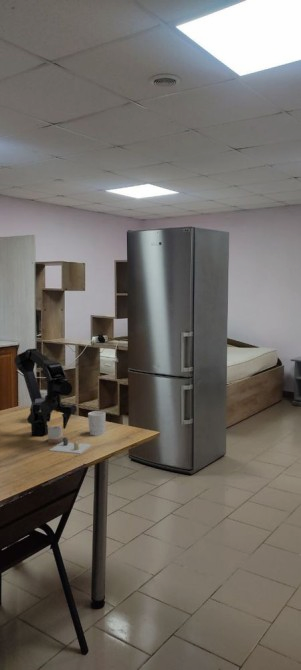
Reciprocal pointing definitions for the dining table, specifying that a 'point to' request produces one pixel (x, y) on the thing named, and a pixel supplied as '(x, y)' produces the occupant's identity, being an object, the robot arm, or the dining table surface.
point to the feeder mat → (52, 442)
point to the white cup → (97, 423)
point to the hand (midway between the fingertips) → (54, 427)
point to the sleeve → (55, 434)
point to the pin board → (70, 447)
